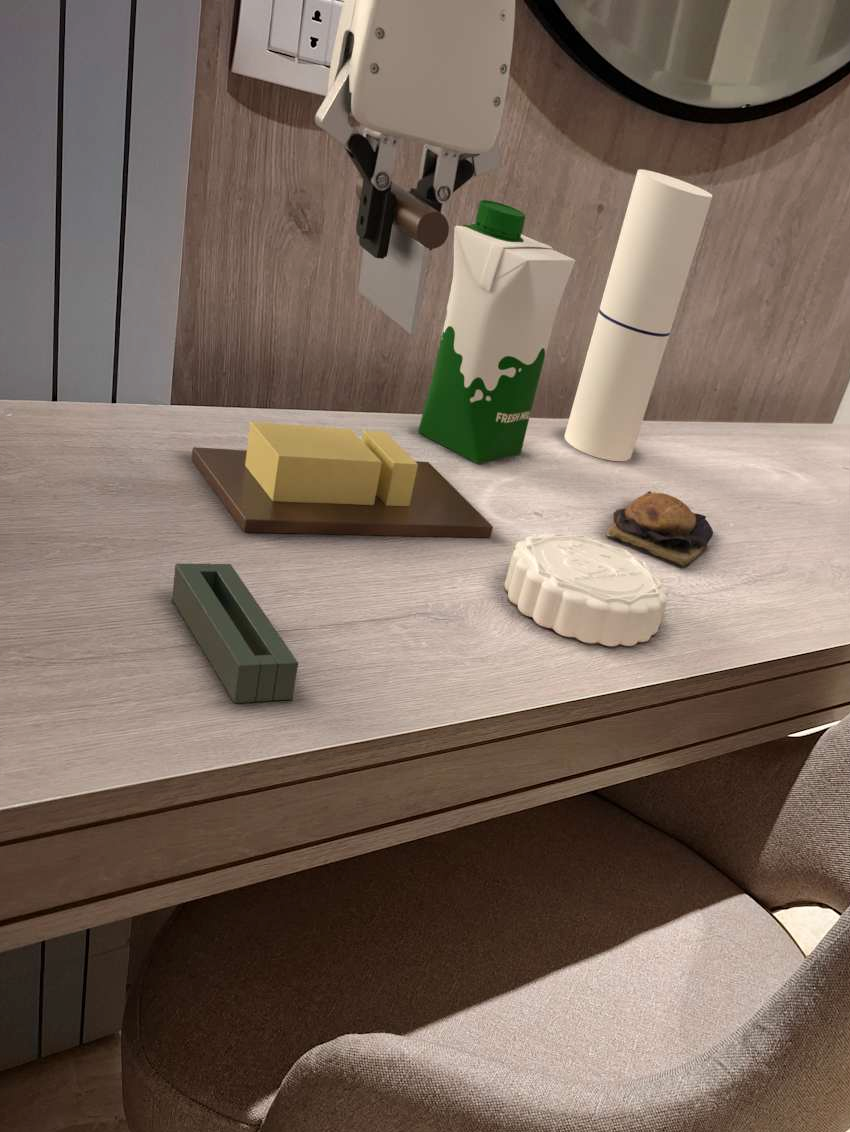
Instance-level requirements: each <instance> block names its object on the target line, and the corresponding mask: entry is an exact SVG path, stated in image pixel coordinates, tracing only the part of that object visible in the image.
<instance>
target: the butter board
mask: <svg viewBox="0 0 850 1132" xmlns="http://www.w3.org/2000/svg"><path fill="white" fill-rule="evenodd" d="M246 454H247V449H246V450H245V449H231V448H230V449H229V448H228V449H227V448H213V447H200V446H199V447H197V446H193V447H192V451H191V460H192V462H193V463H194V464H195V466H196V467H197V468H198V470H199V472H200V473H201V474H202V476H203V477H204V478H205V480H206V481H207V483H208V484H209V485H210V486H211V488H212V489H213V490H214V492H215V494H216V495H217V496H218V498H219V499H220V501H221V502H222V503H223V505H224V506H225V507H226V509H227V510H228V511H229V513H230V514H231V516H232V517H233V518H234V520H235V521H236V522H237V523H238V526H240V528H241V529H242V530H243V532H244V533H263V534H264V533H268V534H269V533H270V534H308V535H309V534H310V535H311V534H312V535H355V536H357V535H358V536H359V535H360V536H396V537H397V536H403V537H444V538H445V537H449V538H491V536H492V532H493V529H494V526H493V525H492V524H491V523H490V522H489V521H488V520H487V519H486V518H485V517H484V516H483V515H482V514H481V513H480V512H479V511H478V510H477V509H476V508H475V507H474V506H473V505H472V503H470V502H469V501H468V500H467V499H466V498H465V497H464V495H462V494H461V492H459V491H458V490H457V488H455V487H454V486H453V485H452V484H451V483H450V482H449V481H448V480H447V479H446V478H445V477H444V476H443V475H442V474H441V473H440V472H439V471H438V470H437V469H436V468H435V467H434V466H433V465H432V464H431V463H430V462H429V461H420V460H414V461H415V462H416V463H417V464H418V467H417V471H416V476H415V481H414V486H413V491H412V495H411V500H410V505H409V506H386V505H385V504H384V503H383V501H382V500H381V499H380V498H379V497H378V496H377V495H376V496H375V502H374V505H357V504H331V503H304V502H278V501H272V500H271V498H270V497H269V496H268V494H267V493H266V492H265V491H264V489H263V488H262V487H261V485H260V484H259V483H258V482H257V480H256V479H255V478H254V477H253V475H252V474H251V473H250V471H249V470H248V469H247V468H246V466H245V462H246Z"/></svg>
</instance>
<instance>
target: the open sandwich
mask: <svg viewBox="0 0 850 1132" xmlns="http://www.w3.org/2000/svg"><path fill="white" fill-rule="evenodd" d="M713 535H714V530H713V528H712V527H711V524H710V523H709V522H708V520H707V516H706V515H704V514H701V513H695V512H693V511H692V509H690V507H689V505H687V504H686V503H684V502H683V501H682V500H680V499H679V498H677V497H675V496H672V495H669V494H667V493H663V492H652V491H650V490H649V491H647V492H646V493H644V494H642V495H640V496H638V497H637V498H636V499H634V500H633V501H632V502H630V504H628V507H627V508H620V509H616V510H615V511H614V512H613V519H612V523H611V525H610V527H609V528H608V530H607V532H606V536H607V537H611V538H612V537H613V539H619V540H620V541H622V542H624V543H627V544H631V545H632V546H635V547H639V548H642V549H643V550H646V551H648V553H651V554H653V555H654V556H658V557H661V558H663V559H667V560H669V561H671V562H674V563H676V564H679V566H682V567H685V566H686V565H688V564H690V563H691V562H692V561H694V560H696V558H697V557H699V556H700V554H702V551H704V548H705V547H706V548H707V544H708V543H710V541H711V539H712V538H713Z"/></svg>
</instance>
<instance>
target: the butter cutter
mask: <svg viewBox="0 0 850 1132" xmlns="http://www.w3.org/2000/svg"><path fill="white" fill-rule="evenodd" d="M362 184H363V178H361V177H360V176H359V177H358V178H357V180H356V183H355V194H356V197H357V199H358V200H359V201H360V197H361V191H362ZM390 191H391V192H392V193H394V194H395V196H396V207H395V209H394V218H393V224H392V230H391V236H390V242H389V247H388V253H387V256H386V257H384V258H383V259H380V258H375V257H374V256H372V255H371V254H370V253H369V252H368V251H366V250H365V249H364V248H362V249H363V250H362V257H361V266H360V274H359V281H358V282H359V283H358V290H357V291H358V293H359V294H360V295H362V296H363V297H364V298H365V299H366V300H368V301H369V303H371V304H372V305H374V306H375V307H376V308H378V310H380V311H381V312H382V313H384V314H385V315H386V316H387V317H388V318H390V319H391V320H392V321H393V322H395V323H396V324H397V325H398V326H400V327H401V328H402V329H403V330H404V331H406V332H407V333H408V334H409V335H411V336H417V331H418V325H419V318H420V313H421V305H422V300H423V293H424V287H425V279H426V275H427V267H428V261H429V255H430V250H429V249H432V250H435V249H438V248H440V247H442V246H443V245H444V244H445V242H446V241H447V239H448V238H449V233H450V226H449V222H448V219H447V218H446V216H445V215H444V214H443V213H442V212H441V213H440V212H438V211H437V210H435V209H434V208H432V207H431V206H429V205H427V204H426V203H424V202H423V201H421V200H420V199H418V198H417V197H415V196H413V195H412V194H410V193H409V191H407V190H405V189H404V188H402V187H401V186H399V185H398V184H396V183H395V182H393V181H392V185H391V190H390Z"/></svg>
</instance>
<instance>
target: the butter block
mask: <svg viewBox="0 0 850 1132" xmlns="http://www.w3.org/2000/svg"><path fill="white" fill-rule="evenodd" d="M249 424H250V425H249V430H248V439H247V447H246V450H247V454H246V462H245V466H246V468H247V469H248V470H249V471H250V473H251V474H252V475H253V477H254V478H255V479H256V480H257V482H258V483H259V484H260V485H261V487H262V488H263V489H264V491H265V492H266V493H267V494H268V496H269V497H270V498H271V500H272V501H278V502H304V503H331V504H357V505H374V502H375V496H376V491H377V486H378V481H379V475H380V470H381V465H382V462H381V461H380V460H379V459H378V457H377V456H376V455H375V454H374V453H373V452H372V451H371V450H370V449H369V448H368V447H367V446H366V445H365V444H364V443H363V442H362V441H361V439H362V438H360V437H359V436H358V435H357V434H356V433H355V432H354V431H353V430H352V429H351V428H342V427H341V428H340V427H329V426H328V427H326V426H315V425H301V424H288V423H276V422H263V421H250V422H249Z"/></svg>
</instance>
